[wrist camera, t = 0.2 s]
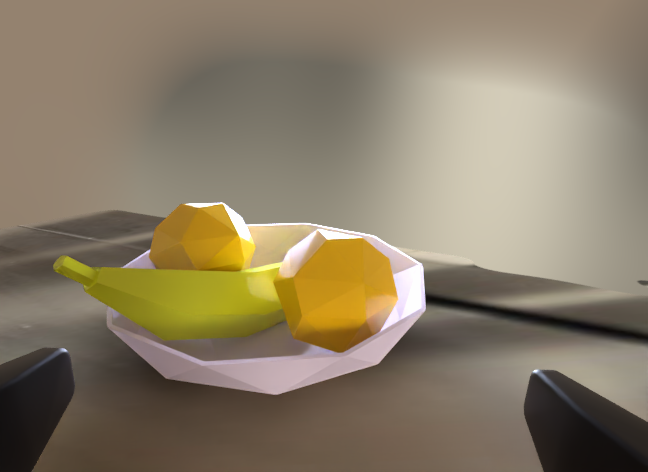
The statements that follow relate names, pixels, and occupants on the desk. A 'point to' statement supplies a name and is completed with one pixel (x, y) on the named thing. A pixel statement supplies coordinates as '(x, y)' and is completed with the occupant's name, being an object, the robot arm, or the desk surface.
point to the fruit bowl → (257, 300)
